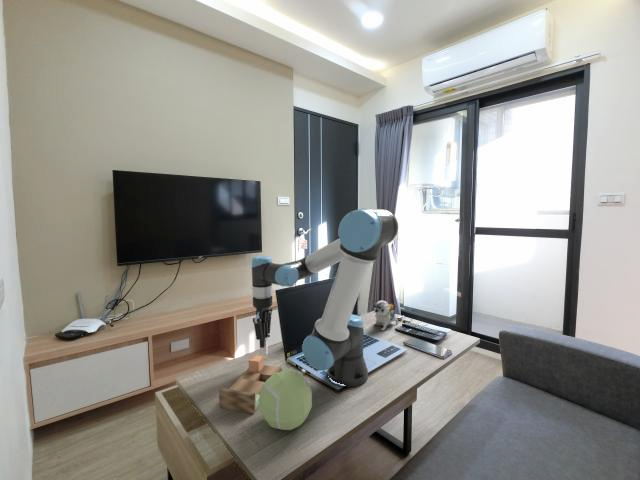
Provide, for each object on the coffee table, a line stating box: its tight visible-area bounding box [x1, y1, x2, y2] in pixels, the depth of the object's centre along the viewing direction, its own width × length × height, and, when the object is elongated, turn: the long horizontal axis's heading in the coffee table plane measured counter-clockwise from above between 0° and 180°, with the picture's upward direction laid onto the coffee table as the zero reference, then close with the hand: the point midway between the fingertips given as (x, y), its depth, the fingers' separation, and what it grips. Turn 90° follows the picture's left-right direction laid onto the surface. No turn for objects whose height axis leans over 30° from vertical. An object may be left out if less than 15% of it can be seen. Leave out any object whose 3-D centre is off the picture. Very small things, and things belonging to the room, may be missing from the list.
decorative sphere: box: [258, 369, 313, 431], centre depth 89 cm, size 15×15×15 cm
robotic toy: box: [373, 300, 400, 331], centre depth 160 cm, size 13×17×15 cm
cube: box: [248, 354, 265, 372], centre depth 114 cm, size 4×4×4 cm
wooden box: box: [218, 364, 283, 415], centre depth 106 cm, size 12×22×6 cm, turn 165°
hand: (263, 353), depth 121 cm, fingers closed
